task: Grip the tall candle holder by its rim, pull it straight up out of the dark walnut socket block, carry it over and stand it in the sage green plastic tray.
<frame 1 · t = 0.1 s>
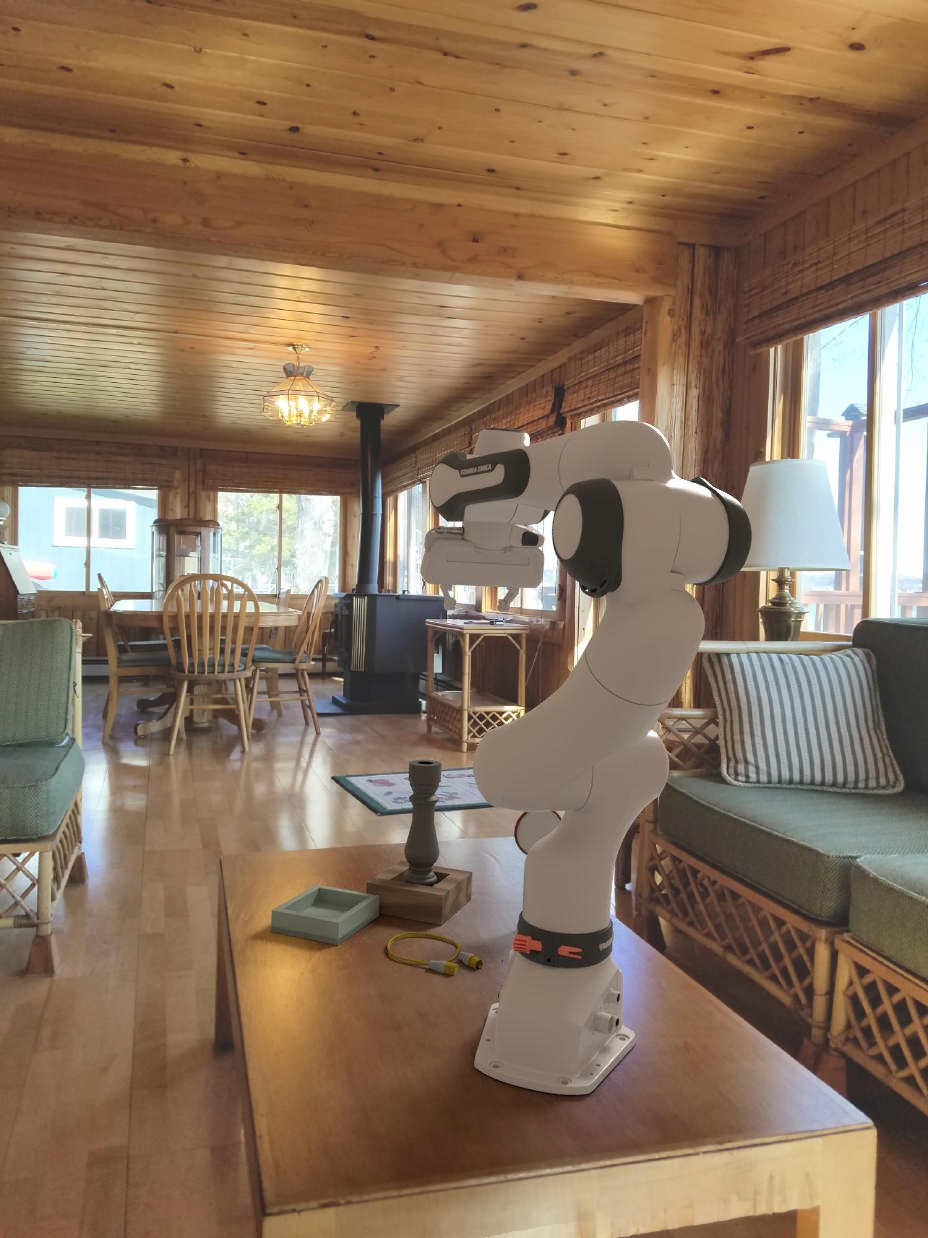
hand: (476, 610, 148), 52 cm above the table, tool tilted 20°, fingers open, 8 cm apart
socket block: (419, 905, 157), on the table
extension cord: (429, 959, 135), on the table
candle holder: (419, 906, 157), on the table
magnifying glass: (535, 927, 149), on the table
parts tray: (326, 924, 146), on the table
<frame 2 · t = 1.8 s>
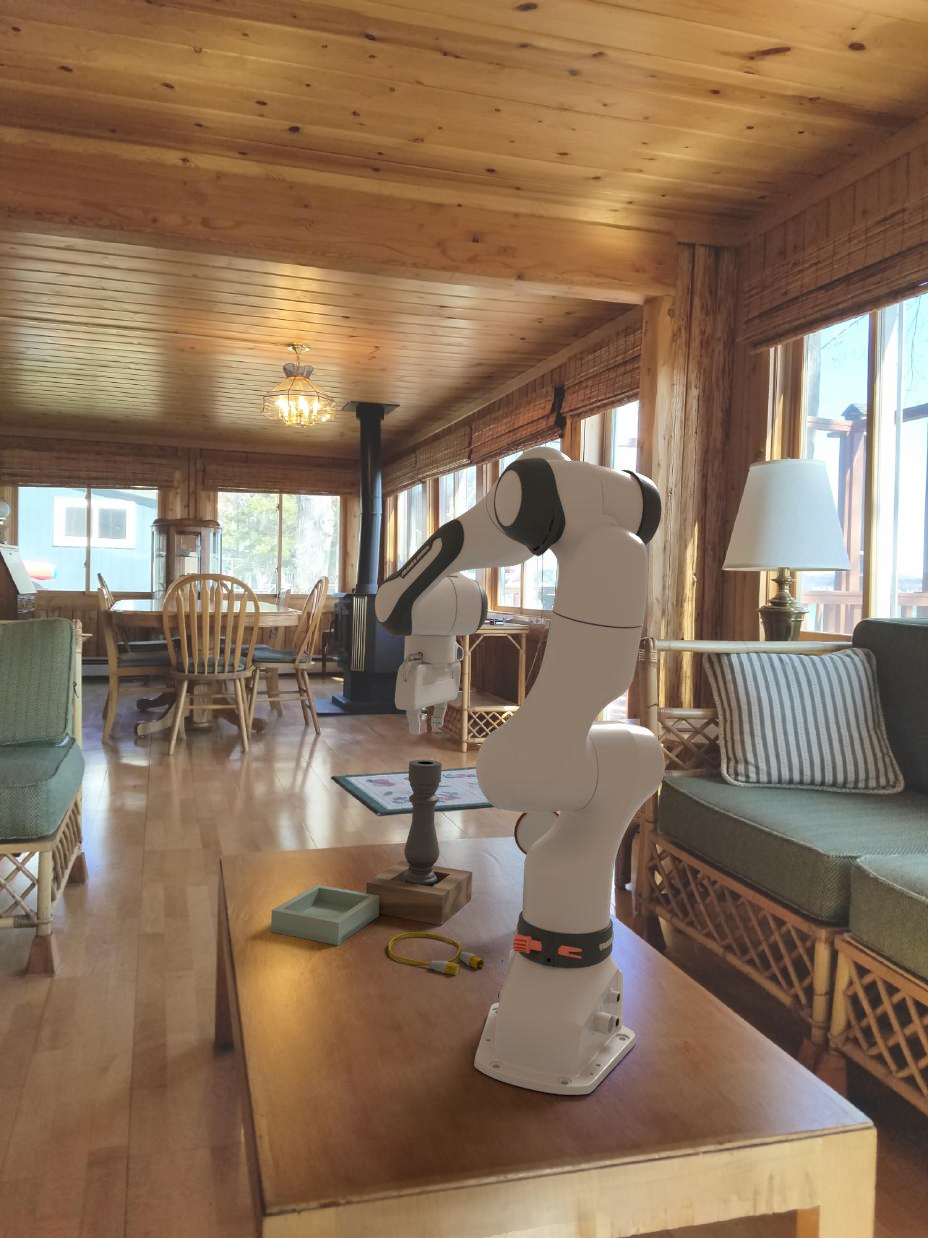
hand: (426, 730, 156), 31 cm above the table, tool pointing down, fingers open, 8 cm apart
nothing on the table moved.
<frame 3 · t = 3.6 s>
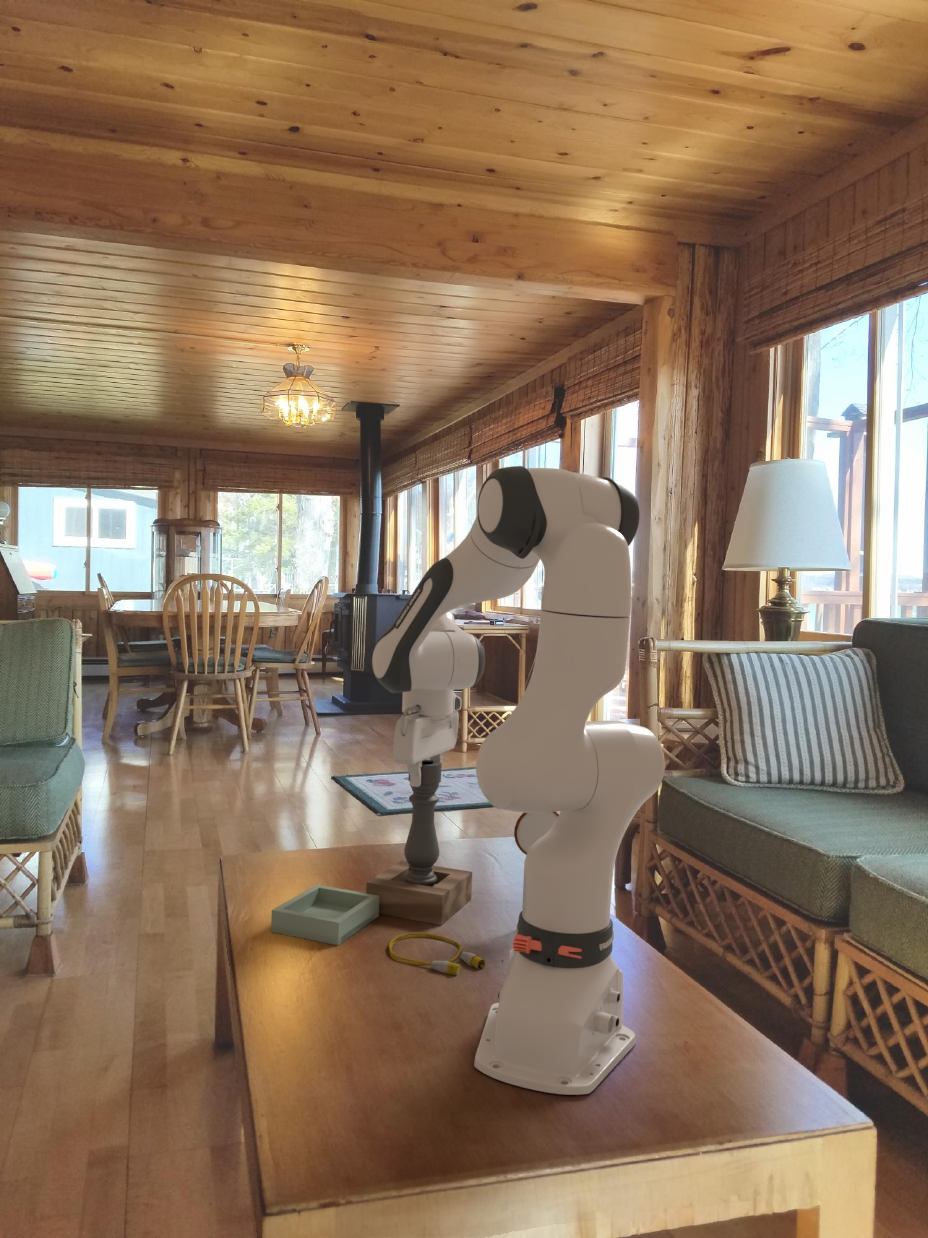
hand: (424, 782, 156), 22 cm above the table, tool pointing down, fingers closed on candle holder, 6 cm apart
candle holder: (419, 906, 157), on the table, touching gripper
everything else where it was.
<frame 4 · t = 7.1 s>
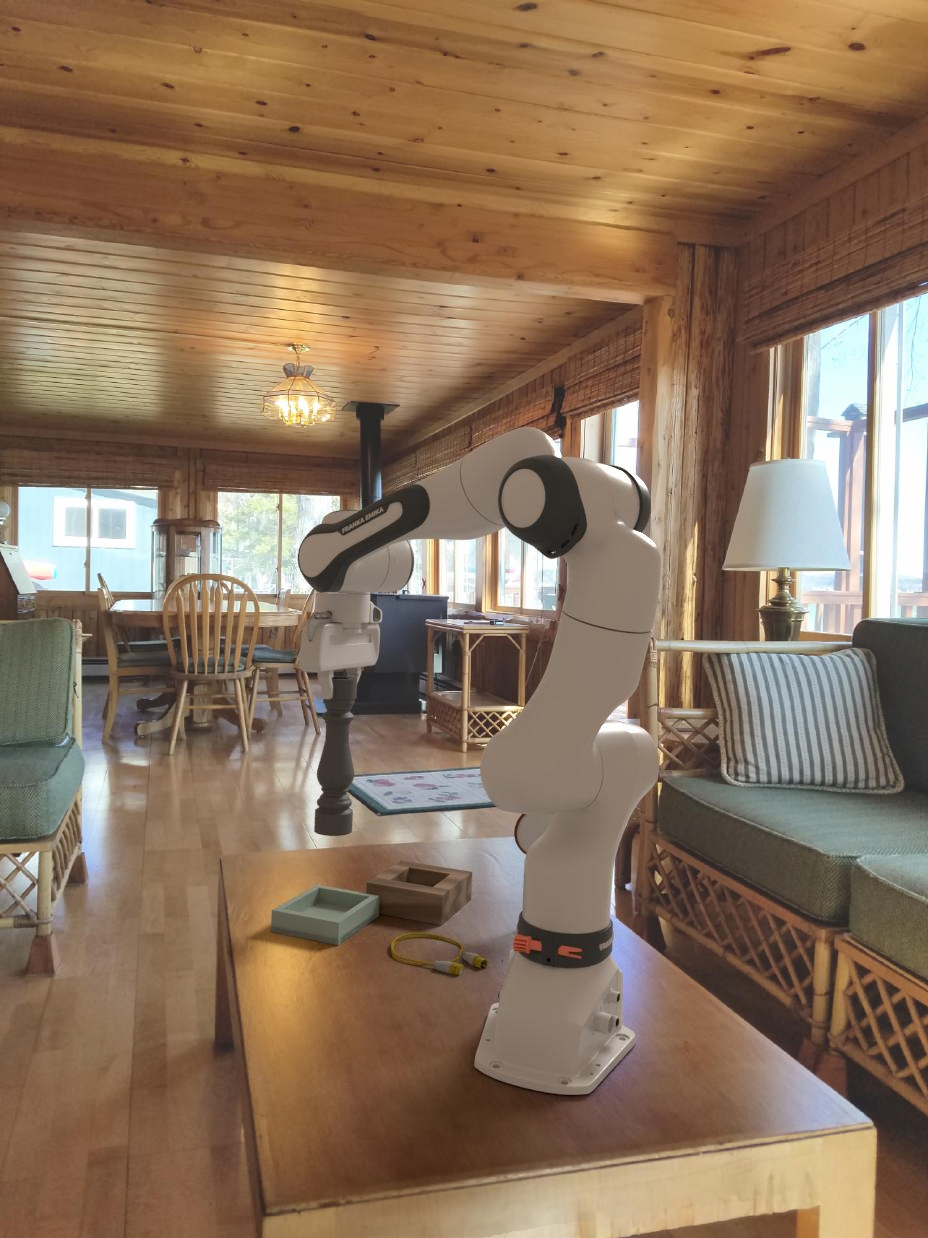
hand: (339, 696, 146), 37 cm above the table, tool pointing down, fingers closed on candle holder, 6 cm apart
candle holder: (333, 832, 146), point 15 cm above the table, touching gripper
everything else where it was.
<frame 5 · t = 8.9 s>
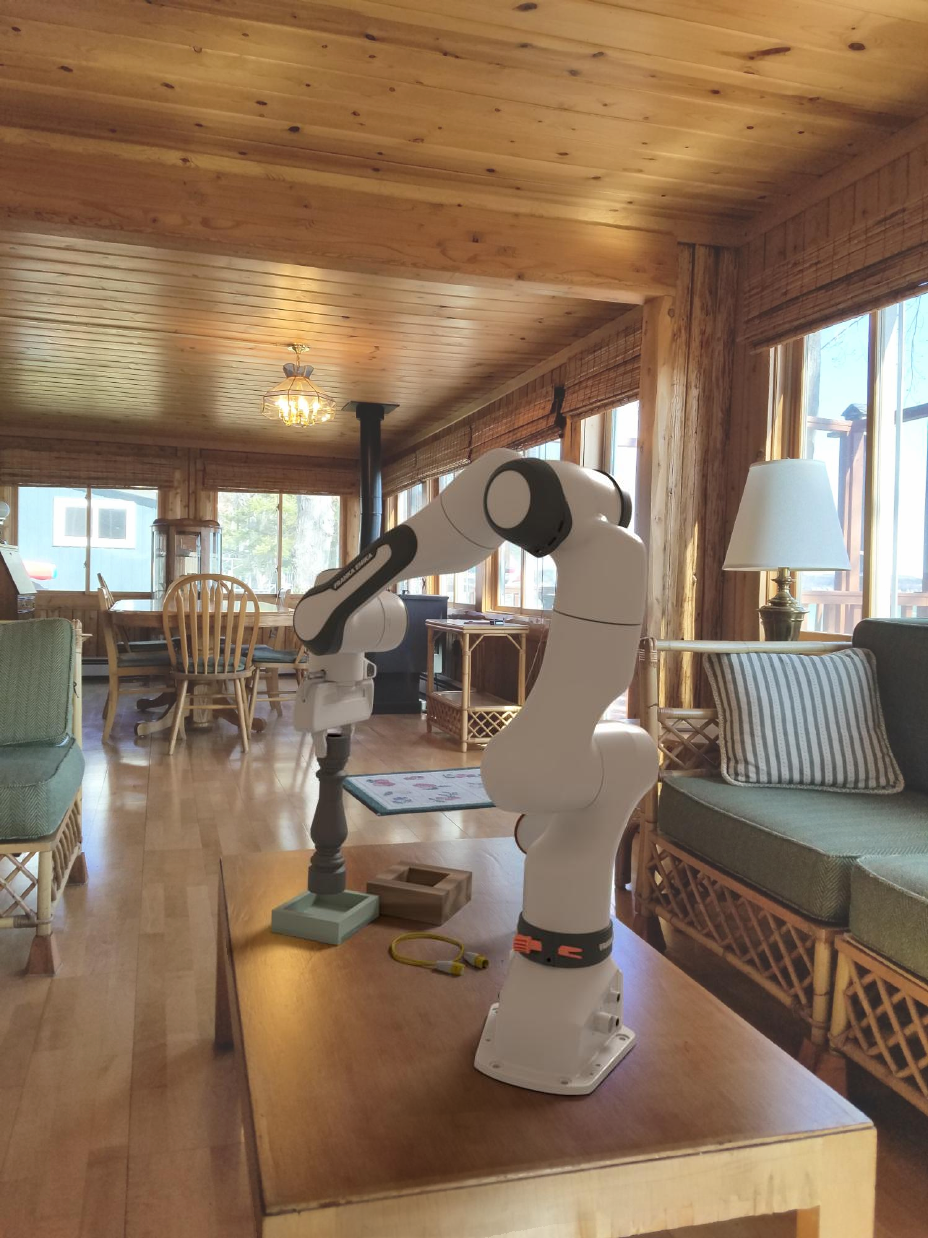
hand: (333, 753, 145), 28 cm above the table, tool pointing down, fingers closed on candle holder, 6 cm apart
candle holder: (326, 889, 146), point 6 cm above the table, touching gripper
everything else where it was.
when the fingers open (24 cm above the table, at t = 10.6 s): candle holder stays where it is, resting on parts tray.
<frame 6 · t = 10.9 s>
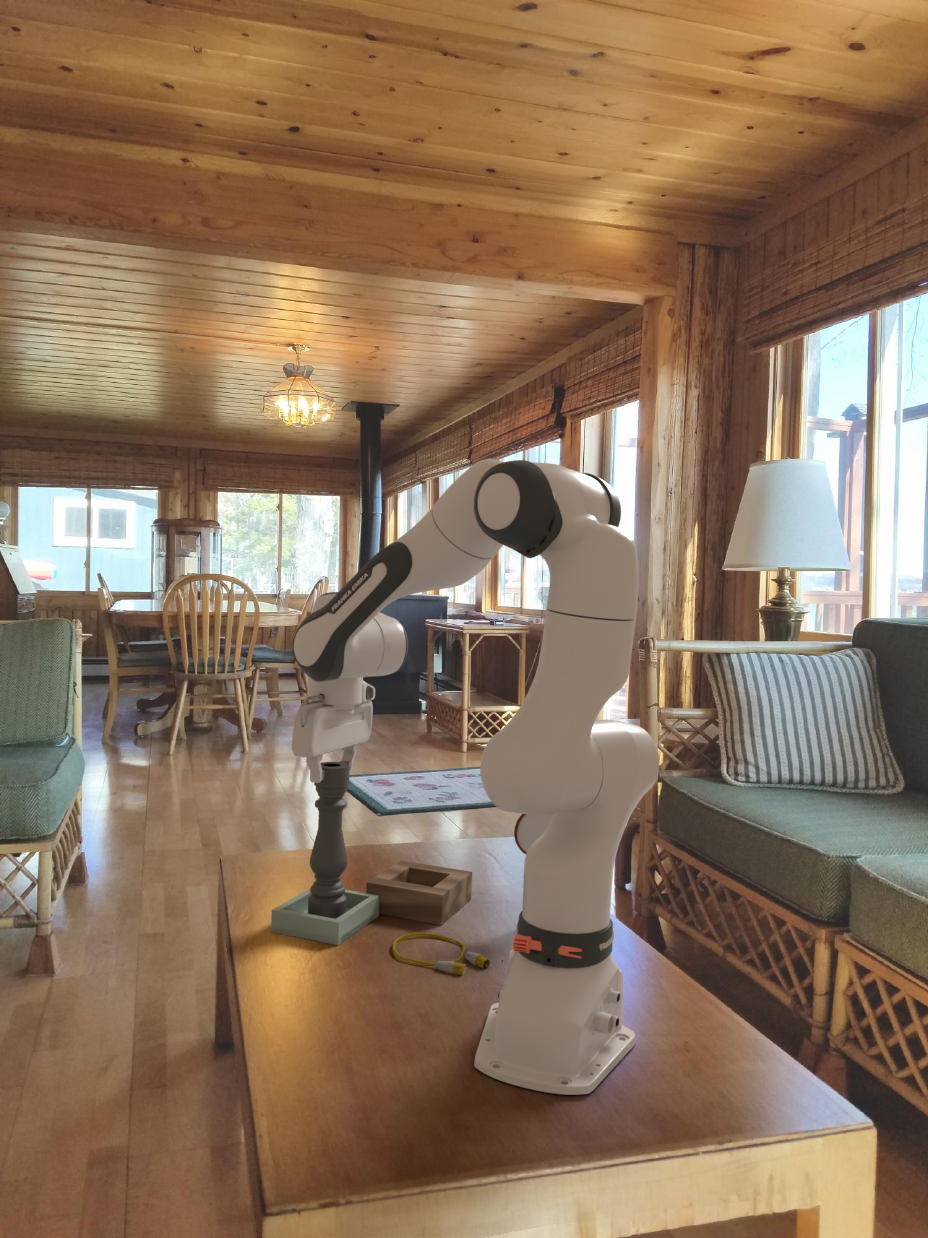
hand: (331, 776, 145), 24 cm above the table, tool pointing down, fingers open, 8 cm apart
candle holder: (326, 919, 146), point 1 cm above the table, touching parts tray
everything else where it was.
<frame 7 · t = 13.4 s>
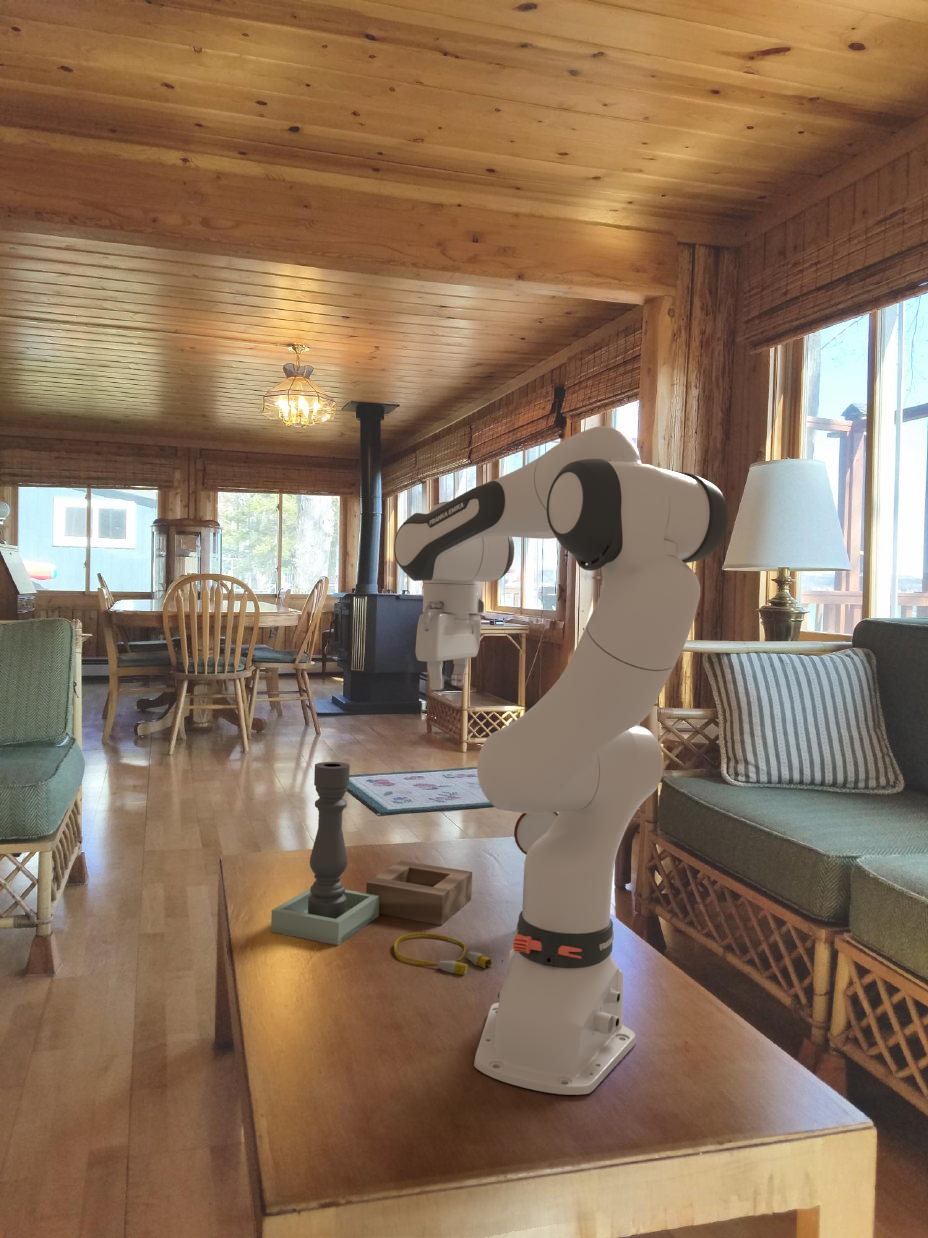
hand: (447, 687, 146), 39 cm above the table, tool pointing down, fingers open, 8 cm apart
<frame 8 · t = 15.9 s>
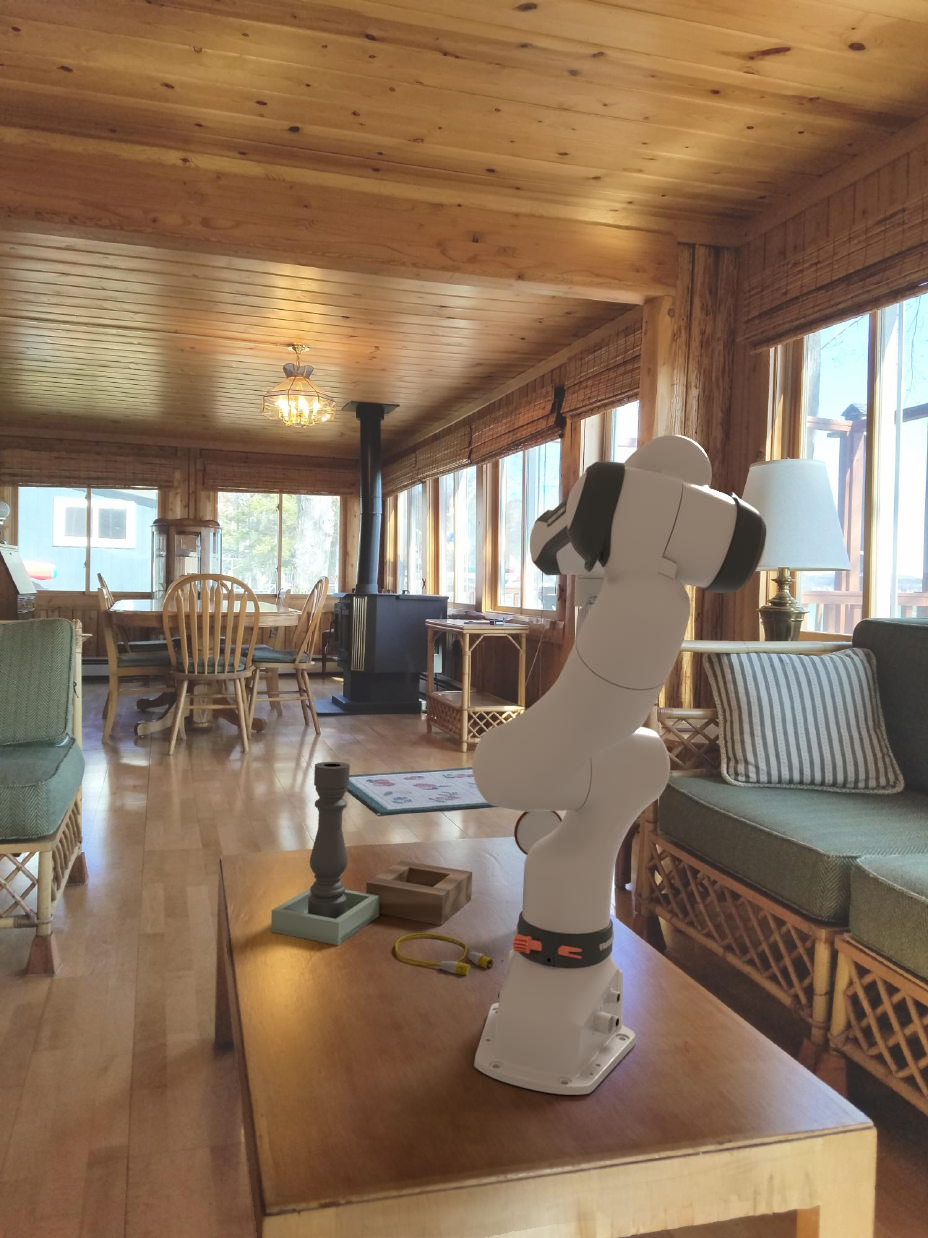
hand: (597, 681, 148), 41 cm above the table, tool pointing down, fingers open, 8 cm apart
at the end: candle holder inside the target area on the parts tray (0.1 cm from its centre), point 0.8 cm above the parts tray's base; candle holder tilted 0°; the gripper is holding nothing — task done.
